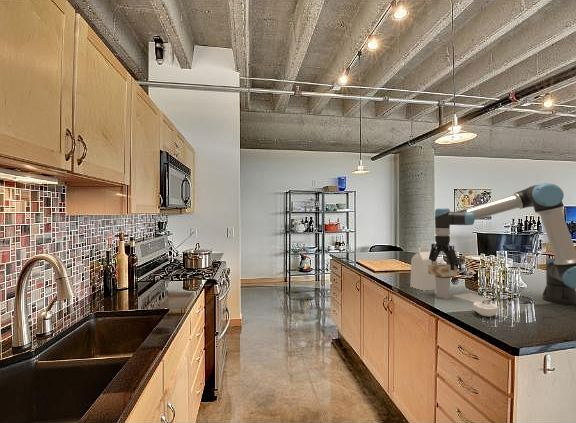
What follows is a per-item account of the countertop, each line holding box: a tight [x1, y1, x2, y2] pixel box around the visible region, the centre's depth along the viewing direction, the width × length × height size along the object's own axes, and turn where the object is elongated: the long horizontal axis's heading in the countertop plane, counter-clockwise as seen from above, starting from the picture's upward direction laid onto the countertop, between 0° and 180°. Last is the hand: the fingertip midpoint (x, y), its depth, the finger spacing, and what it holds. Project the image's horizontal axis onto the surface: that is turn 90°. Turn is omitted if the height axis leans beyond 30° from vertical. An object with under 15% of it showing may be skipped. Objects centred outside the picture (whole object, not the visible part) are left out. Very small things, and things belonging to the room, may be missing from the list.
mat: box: [452, 292, 493, 303], centre depth 174 cm, size 14×14×1 cm
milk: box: [409, 246, 436, 292], centre depth 198 cm, size 12×12×26 cm
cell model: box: [473, 300, 500, 318], centre depth 145 cm, size 10×12×7 cm
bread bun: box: [428, 263, 459, 277], centre depth 175 cm, size 10×10×5 cm
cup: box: [435, 275, 452, 300], centre depth 175 cm, size 8×8×12 cm
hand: (442, 274), depth 175 cm, fingers closed on bread bun, 10 cm apart
